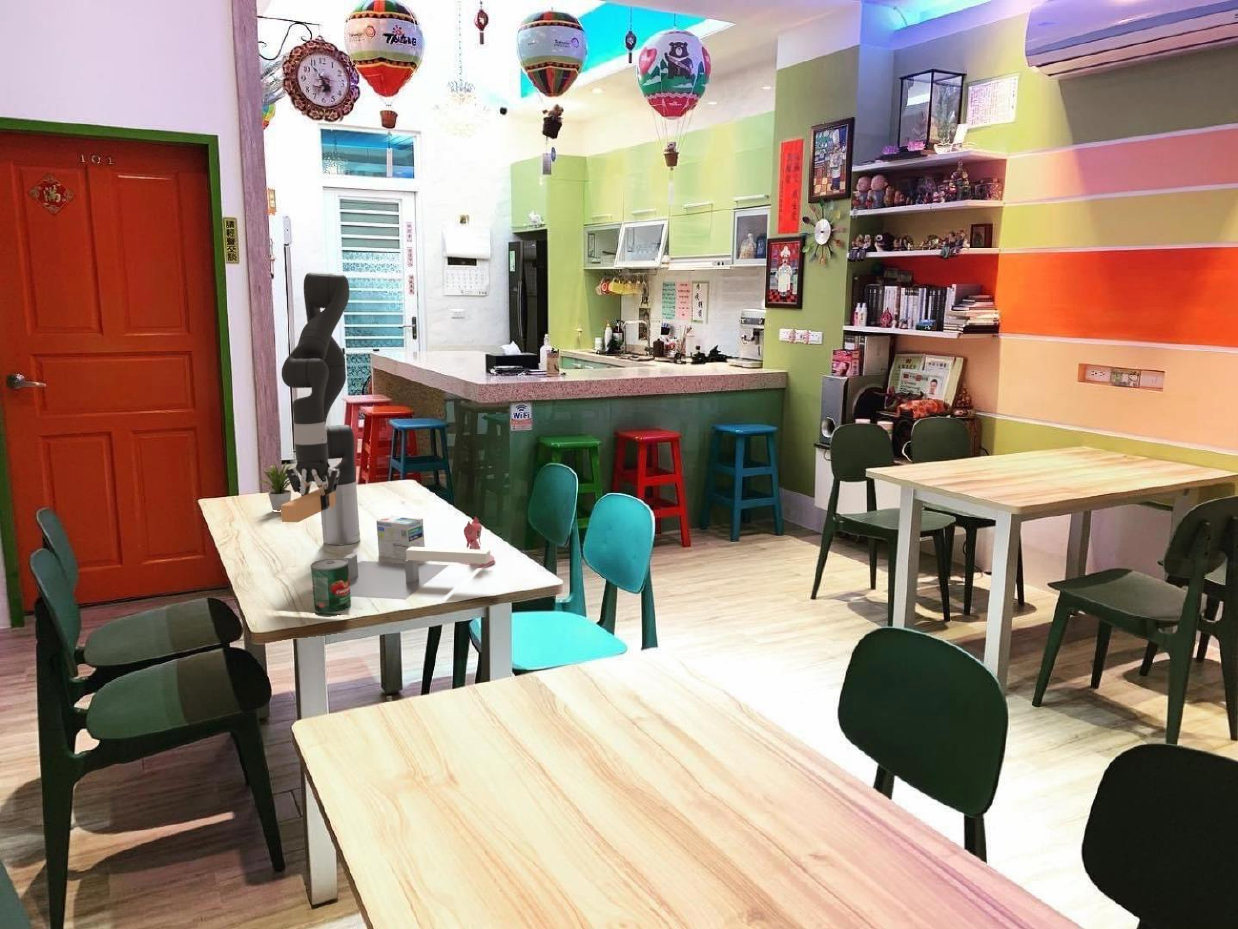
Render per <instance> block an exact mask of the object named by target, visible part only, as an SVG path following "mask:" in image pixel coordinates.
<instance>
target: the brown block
mask: <svg viewBox="0 0 1238 929" xmlns="http://www.w3.org/2000/svg"><path fill="white" fill-rule="evenodd" d="M320 496H321V493H320V490H319V488H317V489H316V490H313V491H310V492H309V493H308V494H306V495H304V496H300V497H296V498H294V499H292V500H290V502H287V503H285V504H282V505H281V512H280V514H281V522H282V523H297V524H298V523H300V522H302V521H304V520H306V519H308V518H310V517H312V516H315V515H316V514H319V513H321V511H323V510H322V509H321V499H320ZM329 503H330V505H329V507H331V506H333V505H336V501H335V491H334V492H332V493H330V494H329ZM329 507H328V508H329Z"/></svg>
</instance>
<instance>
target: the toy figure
mask: <svg viewBox="0 0 1238 929" xmlns="http://www.w3.org/2000/svg"><path fill="white" fill-rule="evenodd" d="M463 535H464V538H465V540H466V542H467V543H466V549H476V550H482V549H481V545H482V544H481V536H482V525H481V523H480V520H479V519H478V517H477V516H475V517H474V519H473V520H472V522H470V521H469V520H468V521H467V524H466V526H464V529H463ZM459 564H461V565H466V566H475V565H476V566H477V565H479V566H477V569H480V568H485V567H489V566H491V565H494V564H495V557H494V556H493V555H491V554H490V561H489V562H488V563H487V564H476V563H459Z"/></svg>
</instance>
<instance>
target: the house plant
mask: <svg viewBox="0 0 1238 929" xmlns="http://www.w3.org/2000/svg"><path fill="white" fill-rule="evenodd" d="M273 463H274V465H272V464H270V467H269V469H270V471H269V470H264V469H261V471H262V472H263V475H265V476H266V477H267V478H268V479H269V480H270V482H271V483H270V482H268V481H265V480H259V483H262V484H263V483H264V484H266V485H268V490H269V489H272V491H269V492H268V493H267V494H268V498H269V501H270V505H271V507H272V508H271V509H272V511H273V510H277V511H280V510H281V505H282V504H285V503H287V502H290V501H292V500H291V499H292V490H290V489H287V488H288V487H289V486H290V485H291V483H290V481H289V478H288V476H287V473H286V470H287V469H290V468H291V466H292V464H290V465H288V466H287V467H286V465H287V462H285V463H284V464H283V466H282V468H281V470H280V471H279V469H278V466H277V463H276V462H275V461H274V462H273ZM298 474H299V472H298ZM298 477H299V476H298ZM299 479H301V478H300V477H299Z"/></svg>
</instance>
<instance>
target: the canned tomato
mask: <svg viewBox="0 0 1238 929" xmlns="http://www.w3.org/2000/svg"><path fill="white" fill-rule="evenodd" d="M310 569H311V570H310V571H311V582H312V583H311V584H312V591H313V594H312V595H313V607H314V610H315V612H314V615H316V616H318V617H323V618H331V616H333V617H338V616H337V615H339V616H342V615H341V614H342V613H338V612H341V611H345V610H347V609H349V608H350V607H351V605H352V598H351V597H352V596H350V585H349V584H350V583H349V569H348V561H347V560H346V559H343V558H342V557H341V558H340V557H332V558H331V557H329V558H324V559H319V560H316V561H313V562H311V564H310ZM336 612H337V613H336Z"/></svg>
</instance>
